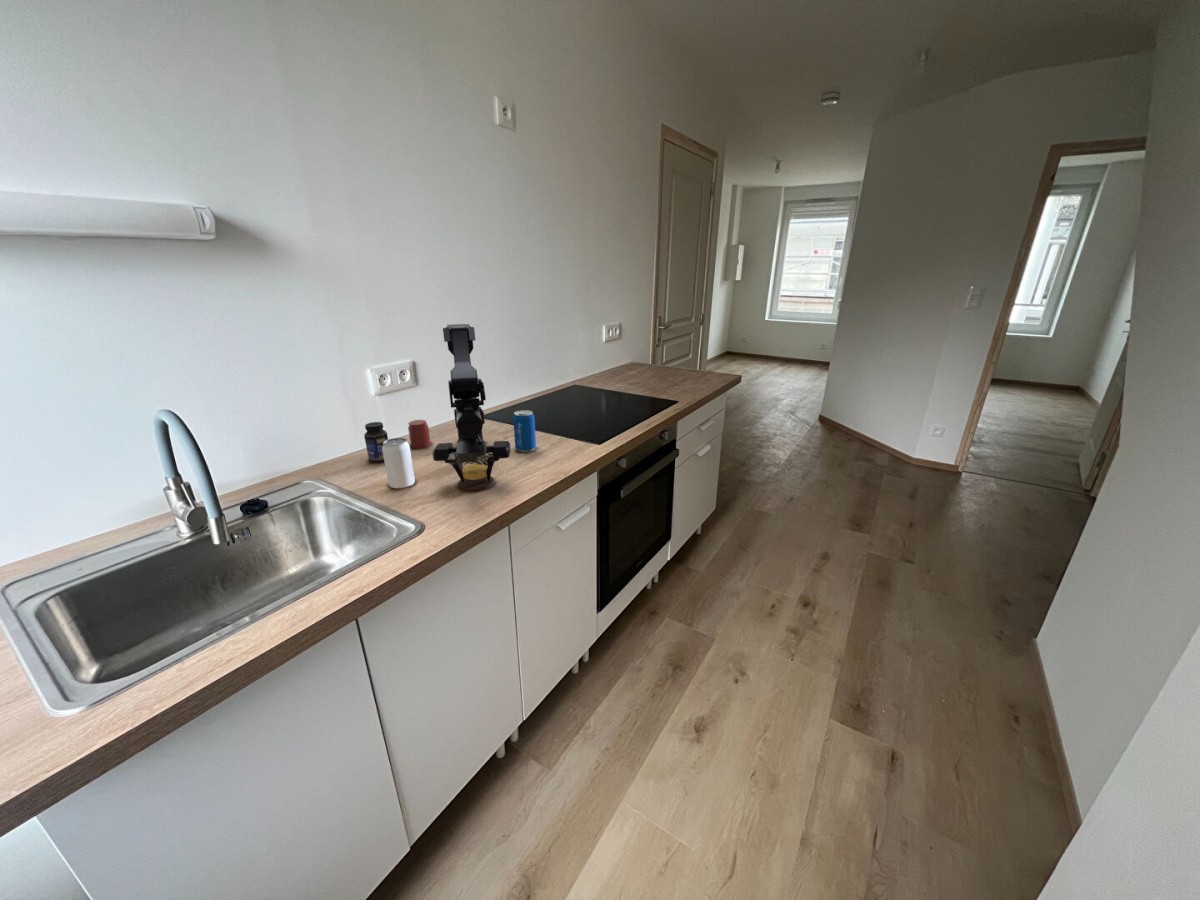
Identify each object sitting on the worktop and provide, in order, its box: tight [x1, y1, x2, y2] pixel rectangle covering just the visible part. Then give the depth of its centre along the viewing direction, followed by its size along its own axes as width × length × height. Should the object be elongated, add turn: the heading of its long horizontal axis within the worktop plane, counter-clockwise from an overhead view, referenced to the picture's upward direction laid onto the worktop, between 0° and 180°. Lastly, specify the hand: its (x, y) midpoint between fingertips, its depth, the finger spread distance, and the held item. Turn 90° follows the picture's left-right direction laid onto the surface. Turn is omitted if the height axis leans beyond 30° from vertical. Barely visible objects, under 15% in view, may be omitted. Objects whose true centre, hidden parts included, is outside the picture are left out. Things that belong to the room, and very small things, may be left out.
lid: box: [462, 463, 487, 480], centre depth 118 cm, size 6×6×2 cm
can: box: [382, 437, 416, 490], centre depth 117 cm, size 6×6×12 cm
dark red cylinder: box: [407, 419, 432, 450], centre depth 145 cm, size 6×6×8 cm
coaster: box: [457, 475, 495, 493], centre depth 119 cm, size 9×9×1 cm
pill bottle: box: [363, 421, 389, 463], centre depth 133 cm, size 6×6×11 cm
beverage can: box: [512, 409, 537, 453], centre depth 141 cm, size 6×6×12 cm
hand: (476, 480), depth 119 cm, fingers closed on lid, 6 cm apart
